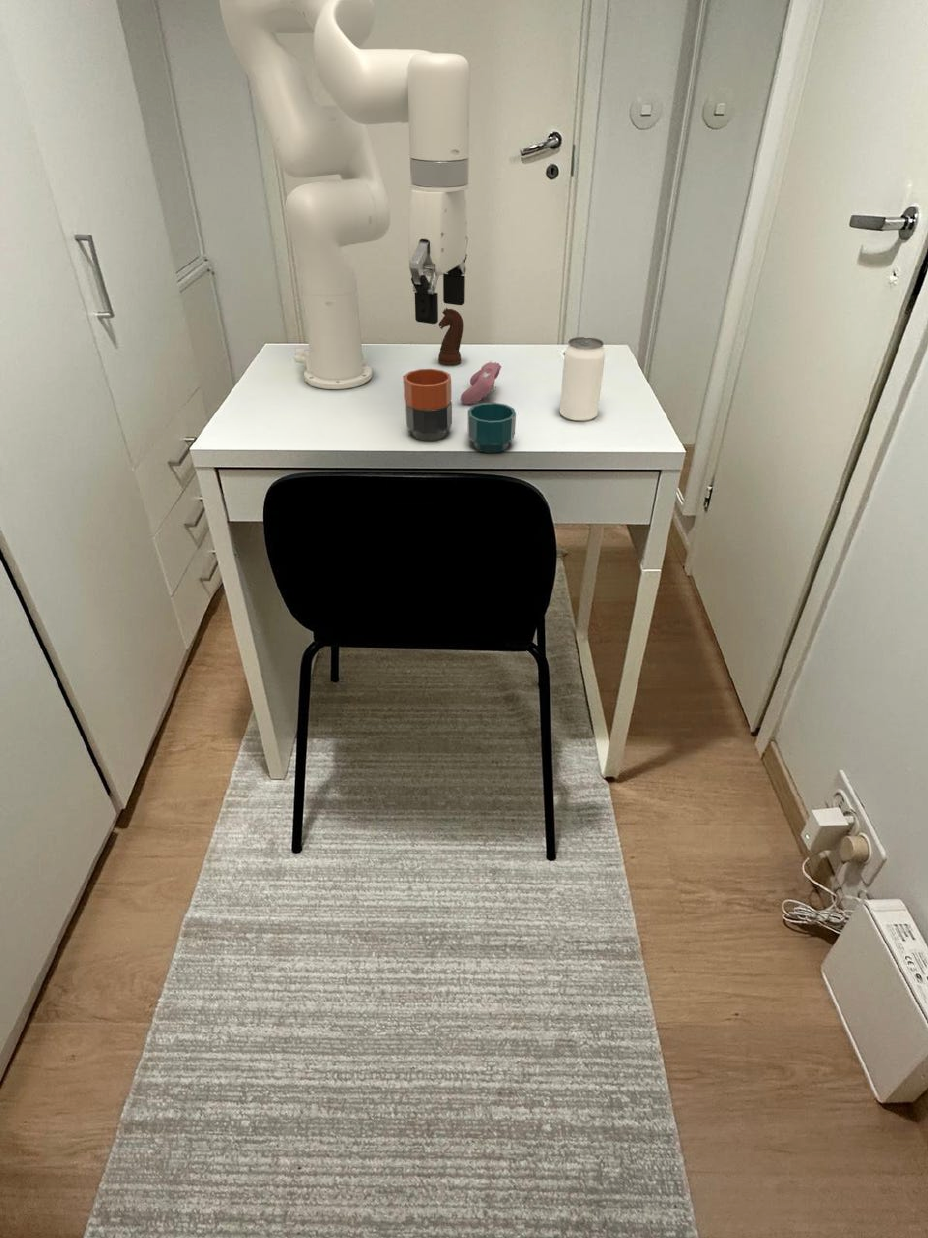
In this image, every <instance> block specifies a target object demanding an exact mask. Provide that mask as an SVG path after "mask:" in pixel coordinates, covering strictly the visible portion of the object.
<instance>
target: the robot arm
mask: <svg viewBox="0 0 928 1238" xmlns="http://www.w3.org/2000/svg"><path fill="white" fill-rule="evenodd" d="M375 7H376V6H375V2H374V0H219V8H220V13H221V18H222V22H223V25H224V29H225V32H226V36H227V37H228V40H229V43H230V45H231V48H232V49H233V51H234V53H235V55H236V57H237V59H238V61H239V63H240V65H241V67H242V69H243V70H244V72H245V74H246V76H247V78H248V80H249V83H250V84H251V86H252V89H253V91H254V95H255V97H256V100H257V104H258V107H259V110H260V113H261V116H262V119H263V123H264V126H265V129H266V131H267V135H268V137H269V140H270V141H269V142H270V144H271V146H272V149H273V153H274V156H275V158H276V160H277V163H278V165H279V167H280V169H281V170H282V171H283V173H284V174H285V175H288V176H290V177H291V178H317V177H327V176H337V175H339V177H340V178H341V179H330V180H321V181H320V180H319V181H311V182H307V183H304V184H301V185H298V186H297V187H295V188H294V189H292V190H291V191H290V192H289V194H288V195H287V198H286V200H285V206H284V210H285V218H286V219H285V220H286V221H287V226H288V230H289V233H290V238H291V240H292V245H293V247H294V252H295V255H296V261H297V265H298V266H297V267H298V274H299V279H300V287H301V294H302V301H303V302H302V303H303V309H304V317H305V318H304V319H305V326H306V334H307V335H306V336H307V341H308V348H309V349H307V348H301V347H298V348H296V349H295V353H294V354H295V355H294V357H293V361H294V363H297V364H304V365H305V366H306V367H305V368H306V369H305V370H304V371H303V378H304V381H305V382H306V383H307V384H308V385H310V386H312V387H316V388H320V389H323V390H326V389H327V390H344V389H350V388H356V387H359V386H362V385H364V384H366V383H368V382H370V381H371V379H372V378H373V369H372V367H371V366H370V365H368V364H367V363H365V362H364V357H363V356H364V355H363V347H362V346H363V344H362V333H361V320H360V309H359V298H358V297H359V296H358V286H357V285H358V284H357V276H356V273H355V269H354V268H353V266H352V265H351V263H350V262H349V260H348V259H347V258H346V256H345V255H344V254H343V251H342V249H341V248H342V247H346V246H350V245H356V244H364V243H370V242H374V241H378V240H380V239H382V238H384V237H385V235H386V234H387V232H388V231H389V229H390V225H391V224H390V223H391V208H390V202H389V198H388V194H387V191H386V187H385V184H384V180H383V177H382V173H381V169H380V167H379V166H380V165H379V163H378V159H377V156H376V152H375V149H374V146H373V142H372V138H371V135H370V133H369V129H368V127H367V125H378V124H395V123H396V124H397V123H401V124H403V123H408V146H409V176H410V179H409V180H410V189H411V191H410V197H409V208H408V236H407V238H408V239H407V251H408V252H407V254H408V255H407V258H408V259H407V260H408V263H407V264H408V270H409V272H410V276H411V278H410V282H411V284H412V292H413V293H414V318H415V321H416V322H417V323H422V324H429V325H436V324H438V321H439V301H438V300H439V299H438V298H439V296H438V292H435V291H436V288H437V285H438V280H439V277H440V276H442V301H443V303H444V304H446V305H454V306H463V305H464V304H465V297H466V296H465V291H466V289H465V288H466V287H465V285H466V282H465V280H466V275H465V274H466V272H467V271H466V270H467V268H466V264H465V263H466V259H467V256H468V254H467V246H468V239H469V238H468V236H467V235H468V233H467V204H466V203H467V201H466V190H468V189H469V167H470V166H469V165H470V164H469V163H470V87H471V86H470V84H471V83H470V77H471V74H470V73H471V72H470V67H469V62H468V60H467V59H466V57H464V56H463V55H462V54H457V53H449V52H448V53H447V52H445V53H444V52H432V51H429V50H425V49H400V48H368V49H367V48H365V49H362V47H363V46H364V44H365V43H366V42H367V40H368V39H369V37H370V36H371V33H372V32H373V28H374V26H375V25H374V24H375V17H376V8H375ZM276 33H277V34H279V33H280V34H281V33H282V34H313V44H312V46H313V57H314V62H315V67H316V70H317V75H318V78H319V80H320V83H321V85H322V87H323V88H324V90H325V92H326V93H327V94H328V95H329V97H330V98H331V99H332V101H333V102H334V103H335V105H320V104H318V103H317V102H316V101H315V99H314V96H313V94H312V91H311V88H310V84H309V81H308V78H307V75H306V73H305V70H304V68H303V67H302V65H301V64H300V63H299V61H298V60H297V59H296V57H295V56H294V54H292V52H291V51H290V50H289V48H287V47H286V46H285V45H284V44H283V43H282V42H281V41H280V40H279V39H278V38H277V36H276ZM428 277H430V279H428Z"/></svg>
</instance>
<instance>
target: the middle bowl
mask: <svg viewBox="0 0 928 1238" xmlns="http://www.w3.org/2000/svg"><path fill="white" fill-rule="evenodd" d="M402 377H403V397H404V405H405V404H406V405H407V406H409V407H411V408H414V409H418V410H436V409H441V408H444V407H446V406H448V405H449V404H450V403H451V401H452V377H451V374H450V373H449V372H446V371H444V370H441V369H435V368H419V369H418V368H417V369H415V370H410V371H407V373H405V374H404V375H403V376H402Z"/></svg>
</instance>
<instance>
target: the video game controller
mask: <svg viewBox="0 0 928 1238" xmlns="http://www.w3.org/2000/svg"><path fill="white" fill-rule="evenodd" d="M501 369H502V365H501V364H499V363H498V362H497V361H494V362H493V361H492V360H491V359H490V360H489V362H487V363H484V364H483V365H482V367H481V368H480V370H478V371H476V372H475V373H473V375H472V376H471V377H470V378H469V383H470V385H471V386H470V387H468V388H467V389H466V390H465V391H464V392H462V394H461V396H460V402H461V403H462V404H463V405H473V404H475V403H478V402H479V401H484V400H485V399H486V397H487V395H488V394H489V393H490V392H491V393H494V392H495V391H496V387H497V386H496V385H495V380H497V378H498V376H499V375H500V371H501Z"/></svg>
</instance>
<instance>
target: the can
mask: <svg viewBox="0 0 928 1238" xmlns="http://www.w3.org/2000/svg"><path fill="white" fill-rule="evenodd" d="M604 344H605V342H604V341H603V340H602V339H600V338H596V337H592V336H577V337H576V336H575V337H572V338H569V340H568V344H567V346H566V348H565V350H564V355H563V356H564V358H563V365H562V366H563V369H562V378H561V390H560V400H559V402H560V403H559V414H560V415H561V417H562V418H564V419H566V420H569V421H573V422H589V421H591V420H593V419H595V418H596V417H597V416H598V413H599V407H600V400H601V392H602V385H603V384H602V383H603V376H604V367H605V359H606V350H605V348H604Z"/></svg>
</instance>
